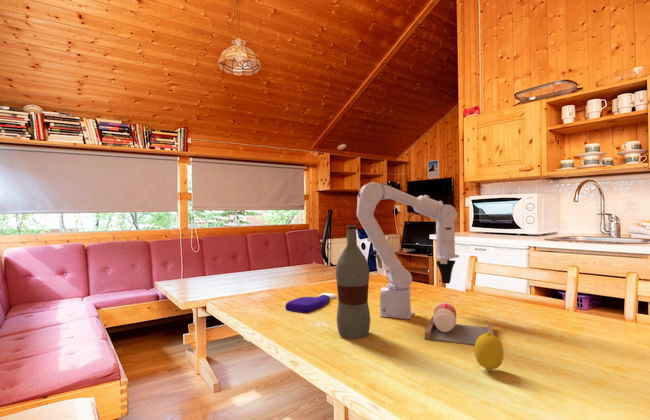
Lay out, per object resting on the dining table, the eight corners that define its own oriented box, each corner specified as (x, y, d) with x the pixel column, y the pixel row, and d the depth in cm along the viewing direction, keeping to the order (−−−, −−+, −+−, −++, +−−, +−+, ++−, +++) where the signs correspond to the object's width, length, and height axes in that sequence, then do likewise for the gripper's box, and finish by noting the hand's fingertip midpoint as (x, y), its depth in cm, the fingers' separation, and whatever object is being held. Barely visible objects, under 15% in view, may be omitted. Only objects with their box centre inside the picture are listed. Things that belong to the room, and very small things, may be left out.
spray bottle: (308, 306, 121) (342, 292, 143) (282, 302, 127) (318, 289, 148) (308, 314, 121) (342, 300, 142) (282, 310, 127) (318, 297, 148)
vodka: (373, 330, 103) (371, 224, 103) (366, 341, 95) (364, 226, 95) (342, 327, 106) (340, 224, 106) (332, 337, 98) (330, 226, 98)
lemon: (470, 366, 78) (469, 329, 78) (494, 364, 79) (493, 327, 79) (483, 377, 73) (482, 337, 73) (509, 376, 73) (508, 336, 73)
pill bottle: (443, 297, 108) (442, 306, 97) (460, 312, 106) (461, 323, 96) (430, 312, 109) (427, 323, 99) (446, 327, 108) (445, 339, 97)
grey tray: (424, 339, 95) (424, 332, 95) (432, 322, 109) (432, 316, 109) (493, 347, 89) (493, 340, 89) (492, 328, 102) (492, 322, 102)
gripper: (456, 243, 110) (457, 288, 110) (459, 239, 123) (460, 279, 123) (432, 243, 113) (433, 286, 113) (438, 239, 126) (439, 278, 126)
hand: (446, 283), depth 118 cm, fingers closed
